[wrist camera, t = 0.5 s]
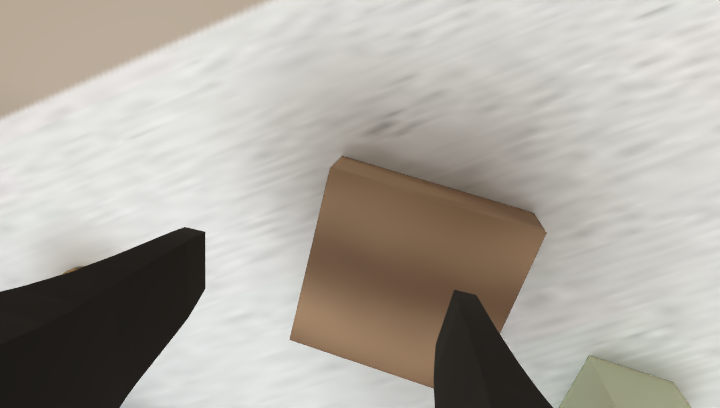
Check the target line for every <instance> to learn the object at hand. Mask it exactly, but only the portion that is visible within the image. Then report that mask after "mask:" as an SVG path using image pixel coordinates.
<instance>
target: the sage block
mask: <svg viewBox="0 0 720 408" xmlns="http://www.w3.org/2000/svg"><path fill="white" fill-rule="evenodd" d="M559 408H692V407H691V406H690V405H689V403H688V402H687V401H686V399H685V398H684V397H683V395H682V394H681V392H680V391H679V390H678V388H677V387H676V386H675V384H674V383H673V382H670V381H667V380H664V379H661V378H658V377H654V376H651V375H648V374H645V373H642V372H639V371H636V370H633V369H630V368H627V367H623V366H620V365H617V364H614V363H611V362H608V361H605V360H602V359H599V358H595V357H592V356H589V357H588V358H587V360H586V362H585V364H584V365H583V367H582V369H581V371H580V372H579V374H578V376H577V377H576V379H575V381H574V383H573V384H572V386H571V388H570V390H569V391H568V393H567V395H566V397H565V398H564V400H563V402H562V404H561V405H560V407H559Z"/></svg>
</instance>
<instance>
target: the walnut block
mask: <svg viewBox="0 0 720 408" xmlns="http://www.w3.org/2000/svg"><path fill="white" fill-rule="evenodd" d="M545 235H546V231H545V230H544V228H543V227H542V225H541V223H540V222H539V220H538V219H537V217H536V216H535V214H534V213H532V212H529V211H525V210H522V209H519V208H515V207H512V206H509V205H505V204H502V203H499V202H495V201H492V200H488V199H485V198H482V197H478V196H475V195H472V194H468V193H465V192H462V191H458V190H455V189H451V188H448V187H445V186H441V185H438V184H435V183H431V182H428V181H425V180H421V179H418V178H414V177H411V176H408V175H404V174H401V173H398V172H394V171H391V170H388V169H384V168H381V167H377V166H374V165H371V164H367V163H364V162H361V161H357V160H354V159H351V158H347V157H344V156H342V157H341V158H340V159H339V160H338V161H337V162H336V163H335V164H334V165H333V166H332V167H331V168H330V171H329V175H328V179H327V183H326V187H325V192H324V196H323V200H322V204H321V209H320V213H319V217H318V221H317V226H316V230H315V234H314V238H313V243H312V247H311V251H310V255H309V260H308V264H307V268H306V272H305V276H304V281H303V285H302V289H301V293H300V298H299V302H298V306H297V310H296V315H295V319H294V323H293V327H292V332H291V336H290V340H292V341H295V342H298V343H301V344H304V345H307V346H310V347H313V348H316V349H319V350H321V351H324V352H327V353H330V354H333V355H336V356H339V357H342V358H345V359H348V360H351V361H354V362H357V363H360V364H363V365H366V366H369V367H372V368H375V369H378V370H381V371H384V372H387V373H390V374H393V375H396V376H399V377H402V378H405V379H408V380H410V381H413V382H416V383H419V384H422V385H425V386H428V387H431V388H434V360H435V346H436V341H437V339H438V336H439V333H440V330H441V327H442V324H443V321H444V318H445V315H446V312H447V309H448V306H449V303H450V300H451V298H452V295H453V292H454V290H458V291H462V292H466V293H471V294H475V295H477V297H478V298H479V300H480V302H481V303H482V305H483V307H484V308H485V310H486V312H487V314H488V315H489V317H490V319H491V320H492V322H493V324H494V325H495V327H496V329H497V330H498V332H499V334H500V332H501V330H502V328H503V326H504V324H505V321H506V319H507V317H508V315H509V313H510V311H511V309H512V306H513V304H514V302H515V300H516V298H517V296H518V293H519V291H520V289H521V287H522V285H523V283H524V281H525V278H526V276H527V274H528V272H529V270H530V268H531V265H532V263H533V261H534V259H535V257H536V255H537V253H538V250H539V248H540V246H541V244H542V242H543V240H544V237H545Z"/></svg>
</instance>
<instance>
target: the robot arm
mask: <svg viewBox="0 0 720 408" xmlns="http://www.w3.org/2000/svg"><path fill="white" fill-rule="evenodd" d="M204 290H205V232H204V231H199V230H195V229H191V228H186V227H184V228H181V229H178V230H176V231H173V232H170V233H168V234H165V235H163V236H161V237H158V238H156V239H153V240H151V241H149V242H146V243H144V244H141V245H139V246H137V247H134V248H132V249H129V250H127V251H124V252H122V253H119V254H117V255H115V256H112V257H109V258H107V259H104V260H101V261H98V262H96V263H93V264H90V265H88V266H85V267H82V268H80V269H77V270H74V271H71V272H68V273H65V274H62V275H59V276H56V277H53V278H50V279H46V280H43V281H39V282H36V283H32V284H29V285H26V286H22V287H18V288H14V289H10V290H6V291H2V292H0V408H119V407H120V406H121V404H122V403H123V401H124V400H125V398H126V397H127V395H128V394H129V393H130V391H131V390H132V389H133V387H134V386H135V385H136V383H137V382H138V381H139V379H140V378H141V377H142V376H143V374H144V373H145V372H146V371H147V369H148V368H149V367H150V365H151V364H152V363H153V362H154V360H155V359H156V358H157V357H158V355H159V354H160V353H161V352H162V350H163V349H164V348H165V347H166V345H167V344H168V343H169V342H170V340H171V339H172V338H173V336H174V335H175V334H176V333H177V331H178V330H179V329H180V328H181V326H182V325H183V324H184V322H185V321H186V320H187V318H188V317H189V315H190V314H191V312H192V310H193V309H194V307H195V305H196V304H197V302H198V300H199V299H200V297H201V295H202V293H203V292H204ZM434 397H435V408H553V407H552V406H551V405H550V404H549V402H548V401H547V400H546V399H545V398H544V396H543V395H542V394H541V392H540V391H539V390H538V389H537V387H536V386H535V385H534V383H533V382H532V381H531V379H530V378H529V377H528V375H527V374H526V372H525V371H524V370H523V368H522V367H521V366H520V364H519V363H518V361H517V360H516V358H515V357H514V355H513V354H512V352H511V351H510V349H509V348H508V346H507V345H506V343H505V342H504V340H503V338H502V337H501V335H500V334H499V332H498V330H497V329H496V327H495V325H494V324H493V322H492V320H491V319H490V317H489V315H488V314H487V312H486V310H485V308H484V307H483V305H482V303H481V302H480V300H479V298H478V297H477V295H475V294H471V293H466V292H462V291H458V290H454V292H453V295H452V298H451V300H450V303H449V306H448V309H447V312H446V315H445V318H444V321H443V324H442V327H441V330H440V333H439V336H438V339H437V341H436V346H435V360H434Z"/></svg>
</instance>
